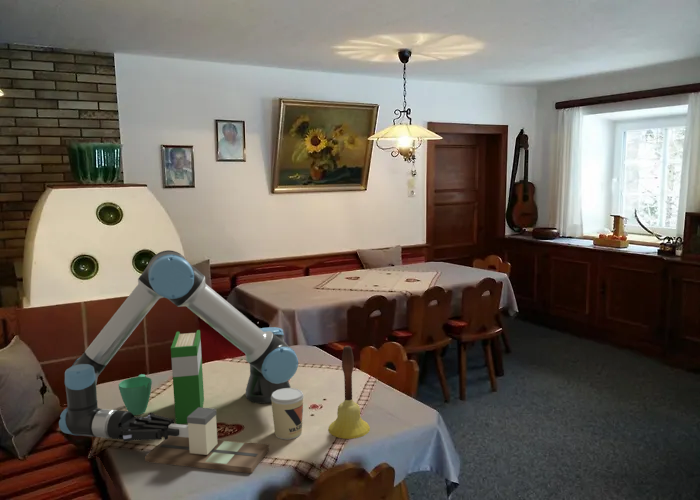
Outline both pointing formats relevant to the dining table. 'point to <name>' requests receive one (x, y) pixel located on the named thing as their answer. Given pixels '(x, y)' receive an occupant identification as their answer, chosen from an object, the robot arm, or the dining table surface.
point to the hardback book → (187, 375)
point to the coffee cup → (287, 412)
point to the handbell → (348, 406)
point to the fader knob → (202, 430)
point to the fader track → (209, 455)
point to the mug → (136, 393)
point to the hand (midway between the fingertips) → (192, 431)
